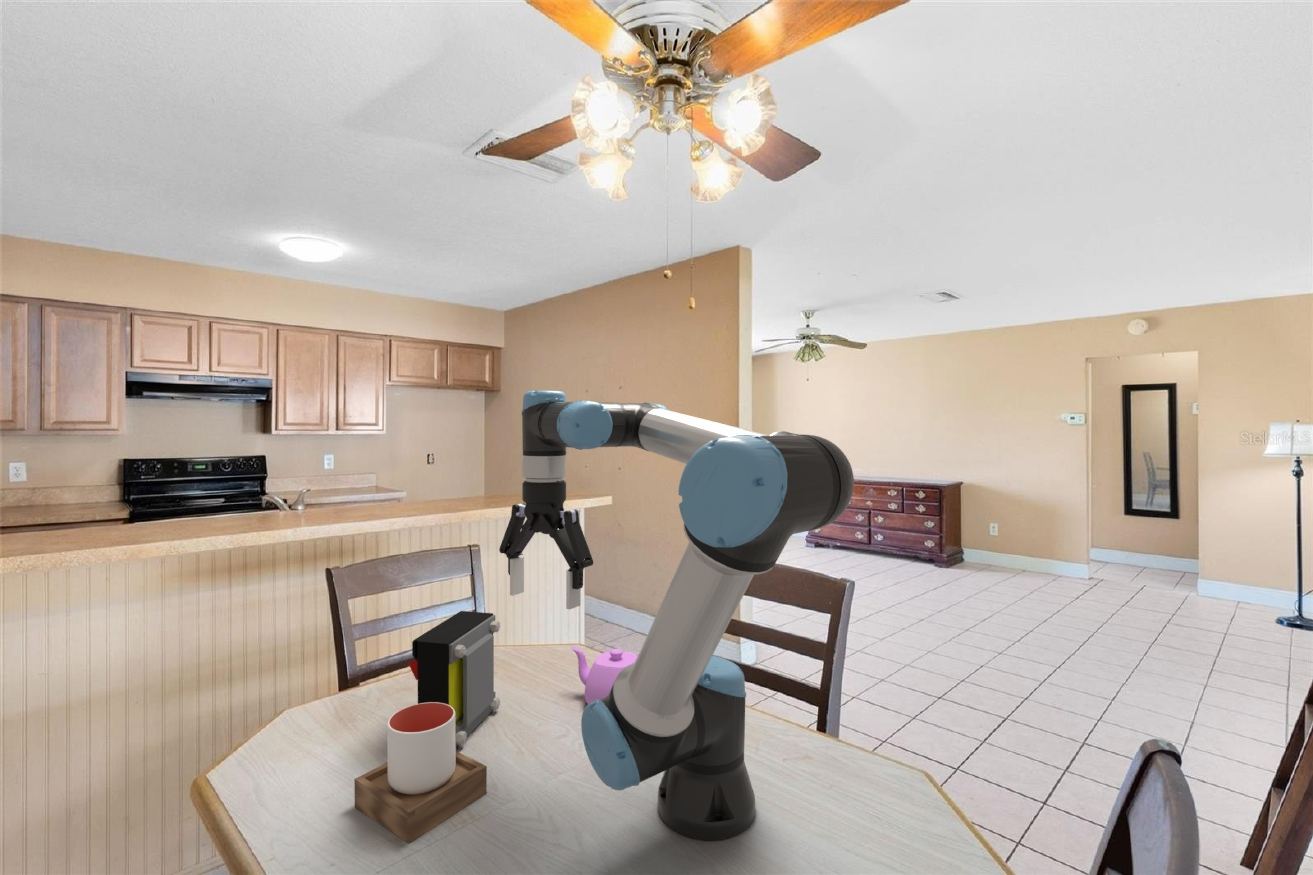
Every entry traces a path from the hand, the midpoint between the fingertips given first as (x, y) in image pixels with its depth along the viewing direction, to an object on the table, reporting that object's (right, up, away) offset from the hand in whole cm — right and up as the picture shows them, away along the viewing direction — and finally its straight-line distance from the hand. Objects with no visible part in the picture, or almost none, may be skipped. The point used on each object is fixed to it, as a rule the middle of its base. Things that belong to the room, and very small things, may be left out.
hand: (544, 600), depth 107 cm
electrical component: (-19, -28, +12) cm, 36 cm away
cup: (-17, -26, -11) cm, 33 cm away
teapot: (+10, -28, +24) cm, 38 cm away
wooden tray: (-17, -29, -10) cm, 35 cm away
